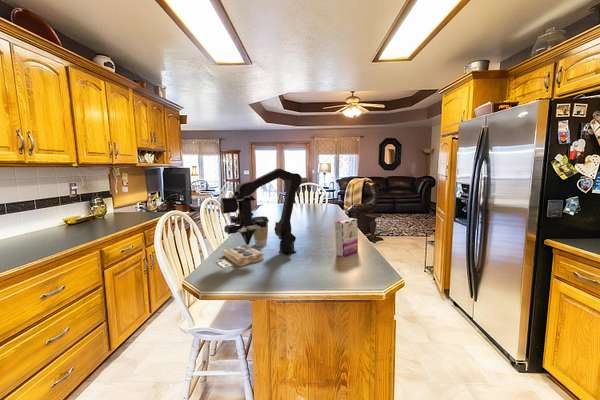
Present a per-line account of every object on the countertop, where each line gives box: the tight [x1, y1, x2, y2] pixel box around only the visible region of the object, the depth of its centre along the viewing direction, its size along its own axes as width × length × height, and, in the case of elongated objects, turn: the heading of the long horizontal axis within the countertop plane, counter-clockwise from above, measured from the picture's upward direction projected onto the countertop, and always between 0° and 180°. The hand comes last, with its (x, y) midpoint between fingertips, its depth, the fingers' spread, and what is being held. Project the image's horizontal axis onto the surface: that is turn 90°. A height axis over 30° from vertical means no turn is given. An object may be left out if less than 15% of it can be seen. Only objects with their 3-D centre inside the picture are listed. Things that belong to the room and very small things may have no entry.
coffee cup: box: [252, 215, 270, 247], centre depth 148 cm, size 10×10×15 cm
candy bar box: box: [334, 217, 359, 258], centre depth 129 cm, size 11×5×16 cm, turn 131°
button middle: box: [239, 248, 246, 254], centre depth 128 cm, size 3×3×2 cm
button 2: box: [244, 250, 251, 256], centre depth 124 cm, size 3×3×2 cm
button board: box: [222, 244, 264, 267], centre depth 129 cm, size 12×18×3 cm, turn 38°
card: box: [217, 258, 234, 269], centre depth 122 cm, size 4×10×1 cm, turn 38°
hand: (247, 244), depth 124 cm, fingers closed
